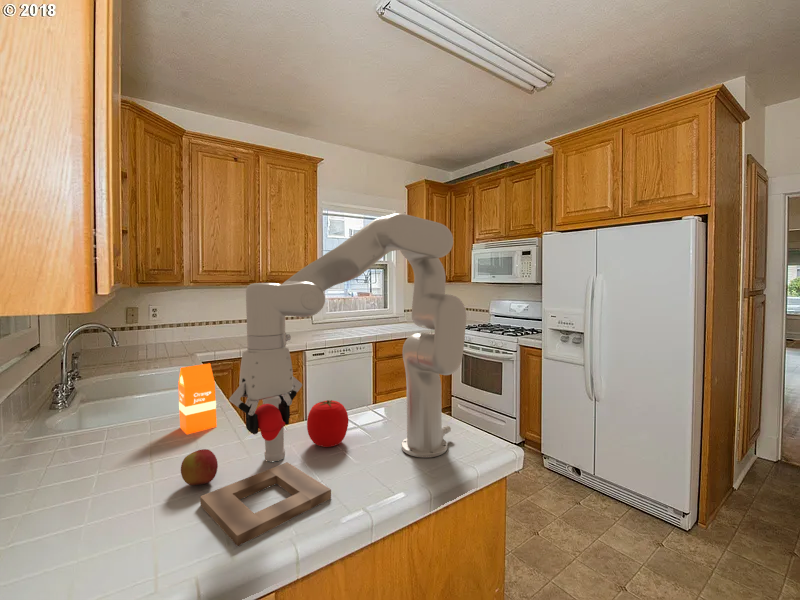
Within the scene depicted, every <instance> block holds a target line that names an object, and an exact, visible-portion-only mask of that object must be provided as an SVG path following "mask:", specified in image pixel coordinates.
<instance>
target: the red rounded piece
mask: <svg viewBox="0 0 800 600" xmlns="http://www.w3.org/2000/svg"><path fill="white" fill-rule="evenodd" d="M255 414H257V415H258V430H259V431H260V434H261V437H262V438H263V440H264V441H265V440H266V441H271V440H273V439H275V438H276V437H277V435H278V434H279V431H280V430H281V428H283V427H285V426H286V424H285V422H284V421H283V419H282V415H281V412H280V411H279V409H278V408H277V407H276V406H274V405H272V404H263V403H262V404H261V405H259V406H257V408H256V411H255Z"/></svg>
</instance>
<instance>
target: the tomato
mask: <svg viewBox="0 0 800 600" xmlns="http://www.w3.org/2000/svg"><path fill="white" fill-rule="evenodd" d="M310 408H311V409H310V410H309V413H308V416H307V420H306V430H307V433H308V434H307V435H308V436H309V439H310V440H311V441H312V443H314V444H315V445H317V446H318V447H323V448H330V447H334V446H337V445H339V444H341V443H342V442H343V441H344V439H345V437H346V435H347V432H348V427H349V415H348V411H347V409H346V408H345V406H344V405H343V404H342V403H341V402H339V401H336V400H332V399H331V400H330V399H329V400H323V401H318V402H317V403H315V404H314V405H313V406H312V407H310Z"/></svg>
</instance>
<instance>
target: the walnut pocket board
mask: <svg viewBox="0 0 800 600" xmlns="http://www.w3.org/2000/svg"><path fill="white" fill-rule="evenodd" d="M274 484H276V485H277V484H278V487H280V486H281V487H280V488H282V489H283V490H284V491H286V492H287V493H288V494H290V496H289V497H287V498H284V499H282V500H279V501H277V502H276V503H274V504H271V505H269V506H267V507H265V508H263V509H261V510H258V511H257V512H253V511H252V510H251V509H250V508H249V507H248V506H247V505H245V503H243V502H242V501H241V500H242V498H243V499H245V498H247V496H248V497H249V495H250V496H253V495H254V493H255V494H257V493H259V492H261V490H262V491H264V490H266V489H268V488H267V487H269V486H271V487H273V486H275V485H274ZM272 485H273V486H272ZM265 488H266V489H265ZM269 488H270V487H269ZM263 489H264V490H263ZM258 491H259V492H258ZM256 492H257V493H256ZM244 497H245V498H244ZM240 499H241V500H240ZM199 500H200V507H201V508H202V509H203V510H204V511H205V512H206V513H207V514H208V516H209V517H210V518H211V519H212V521H214V522H215V523H216V524H217V525H218V527H219V528H220V529H221V530H222V531H223V532H224V533H225V535H226V536H227V537H228V538H229V539H230V540H231V541H232V543H234V544H235V546H236V547H240V546H242V545H244V544H246V543H248V542H250V541H251V540H253V539H256V538H257V537H259V536H261V535H264V534H265V533H267V532H269V531H271V530H273V529H275V528H277V527H279V526H280V525H282V524H285V523H287V522H289V521H291V520H292V519H294V518H296V517H298V516H300V515H302V514H304V513H306V512H308V511H310V510H311V509H313V508H315V507H318V506H319V505H321V504H323V503H325V502H327V501H329V500H332V489H331V488H330V487H328V486H326V484H325V485H324V484H323V483H321V482H320V481H318V480H317V479H315V478H313V477H312V476H310V475H309V474H308V473H305V472H304V471H303V470H301V469H299V468H297V467H296V466H294V465H292V464H291V463H289V462H288V461H287V462H283V463H281V464H279V465H276V466H274V467H272V468H268V469H266V470H264V471H261V472H259V473H256V474H254V475H251V476H248V477H245V478H243V479H241V480H238V481H236V482H235V481H234V482H232V483H231V484H228V485H225V486H223V487H219V488H218V489H216V490H213V491H210V492H207V493H205V494H202V495H200V498H199Z"/></svg>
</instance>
